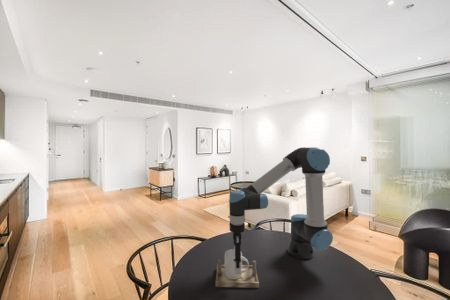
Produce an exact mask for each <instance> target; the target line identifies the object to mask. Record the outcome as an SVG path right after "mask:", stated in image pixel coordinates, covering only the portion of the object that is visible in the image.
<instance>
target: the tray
mask: <svg viewBox="0 0 450 300" xmlns="http://www.w3.org/2000/svg"><path fill="white" fill-rule="evenodd" d="M222 263H223V261H222V259H218V260H217V264H216V275H215V288H216V287H217V288H250V289H251V288H254V289H255V288H260V281H259V277H258V271H257V261H256V260H252V261H251V265H250V264H249V268H248V270H247V271H246V272H245V273H242V275H241V277H240V278H239V279H236V280H232V279H228V278H227V277H226V276H225V264H222ZM247 267H248V264H242V269H247Z"/></svg>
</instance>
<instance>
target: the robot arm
mask: <svg viewBox="0 0 450 300" xmlns="http://www.w3.org/2000/svg"><path fill="white" fill-rule="evenodd" d="M330 162H331V158H330V155H329V153H328V152H327V151H326V150H325V149H324V148H320V147H303V146H302V147H299V148H297V149H295V150H293V151H291V152H290V153H288V154H287V155H285V156H284V157H283V158H282V161H280V162H279V163H278V164H276V165H275V166H274V167H272V168H271V169H270V170H268V171H267V172H266V173H264V174H263V175H262V176H261V177H259V178H258V179H257V180H255V181H254V182H252V183H251V184H249V185H248V186H247V187H242V188H240V189H239V190H232V191H230V192H229V199H228V201H229V202H228V203H229V204H228V205H229V215H228V216H227V218H229V231H230V232H231V233H232V238H233V249H235V259H234V261H235V274H241V252H242V250H241V245H242V233H244V232H245V230H246V229H245V227H246V224H245V223H246V218H245V217H246V212H245V211H251V210H252V211H253V210H264V209H266V208H268V206H269V198H268V196H267V194H265V193H263V192H265V191H267V190H268V189H269V188H271V186H273V185H274V184H276V183H277V182H278V181H279V180H281V179H283V178H284V177H285V176H286V175H288V174H289V173H290V172H294V171H296V170H297V169H299V168H301V173H302V174H303V175H304V179H305V182H304V184H305V202H306V203H305V204H306V214H304V213H303V214H302V213H299V214H293V215H292V216H290V240H289V242H288V245H287V253H288V254H289V255H290V256H292V257H294V258H296V259H299V260H311V259H313V257H314V256H315V251H314V250H315V249H316V250H318V251H324V250H327V249H328V248H329V247H330V246H331V245H332V243H333V239H334V235H333V233H332V232H331V230H329V229H328V221H326V220H325V208H324V188H323V187H324V186H323V185H324V184H323V183H324V182H323V175H324V174H326V170H327V169H328V168H329V166H330V164H331V163H330Z"/></svg>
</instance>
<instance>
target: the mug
mask: <svg viewBox="0 0 450 300" xmlns="http://www.w3.org/2000/svg"><path fill="white" fill-rule="evenodd" d="M234 259H235V249H234V248H230V249H227V250H226V251H224V265H225V276H226V277H227V278H228V279H232V280H236V279H239V278H240V277H241V275H242V273H245V272H246V271H247V270H248V268H249V265H250V264H249V260H248V259H247V258H246V257H245V256H243V253H242V251H241V274H235V261H234ZM243 261H244V262H246V264H247V265H248V267H247V269H242V265H243Z"/></svg>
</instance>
